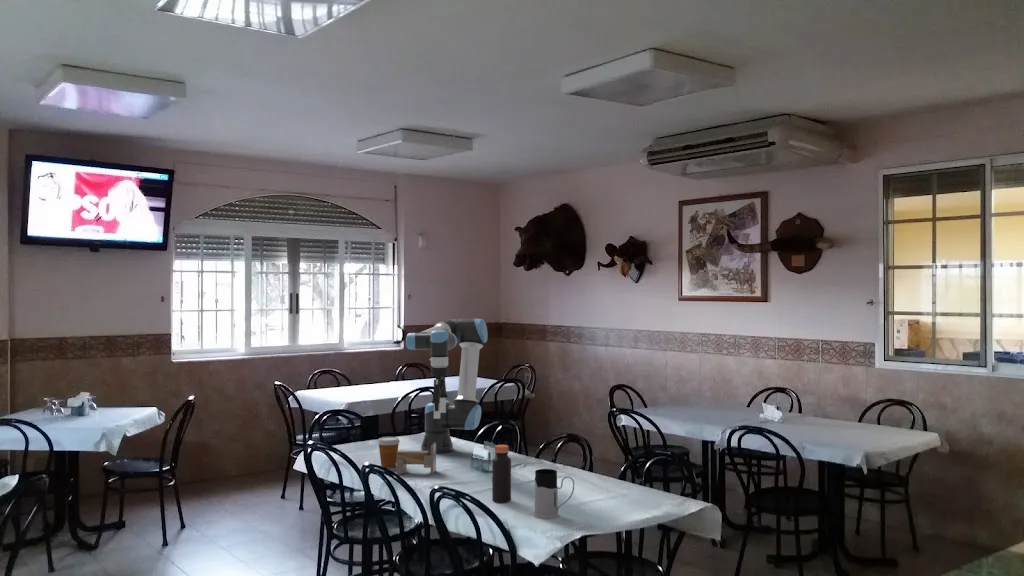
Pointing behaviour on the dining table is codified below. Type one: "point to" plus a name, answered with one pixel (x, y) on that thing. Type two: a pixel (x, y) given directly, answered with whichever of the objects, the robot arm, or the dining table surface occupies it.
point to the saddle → (400, 466)
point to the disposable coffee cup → (388, 451)
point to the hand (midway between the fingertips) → (439, 415)
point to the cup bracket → (431, 459)
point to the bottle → (501, 475)
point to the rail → (412, 456)
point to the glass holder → (547, 494)
